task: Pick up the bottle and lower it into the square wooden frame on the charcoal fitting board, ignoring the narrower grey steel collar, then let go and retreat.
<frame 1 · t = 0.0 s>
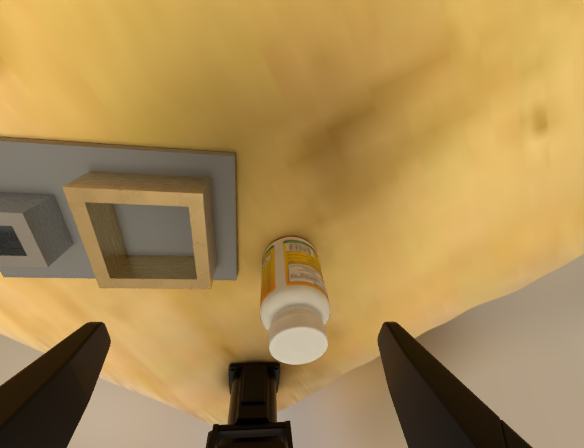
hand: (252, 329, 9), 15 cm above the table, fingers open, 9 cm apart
square wooden frame: (165, 218, 23), resting on fitting board
steel collar: (42, 213, 21), resting on fitting board
fitting board: (114, 216, 22), on the table
supplement bottle: (289, 256, 26), on the table
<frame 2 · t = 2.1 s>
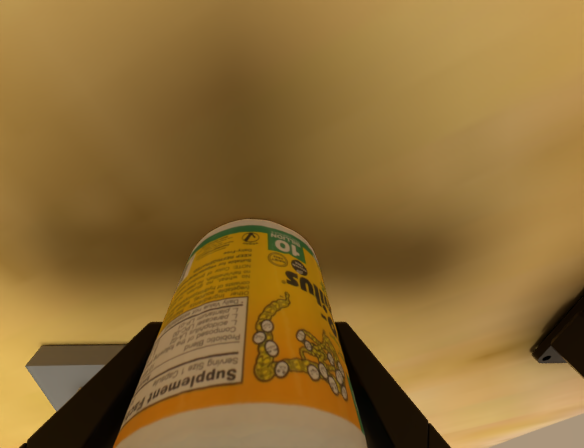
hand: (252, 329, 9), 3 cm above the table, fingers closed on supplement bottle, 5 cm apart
fitting board: (191, 436, 18), on the table
supplement bottle: (256, 266, 11), on the table, touching gripper
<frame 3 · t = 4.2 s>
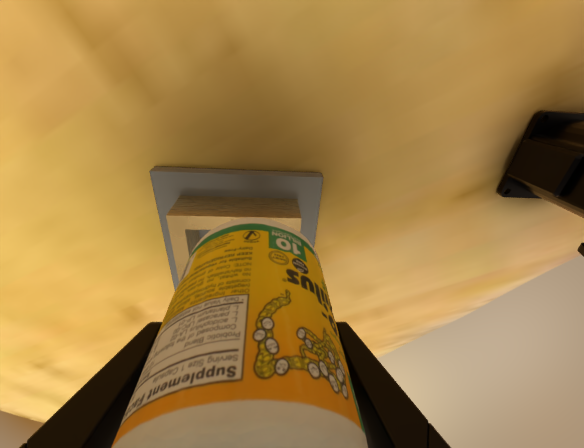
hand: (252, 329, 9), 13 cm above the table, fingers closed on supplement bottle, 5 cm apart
square wooden frame: (242, 238, 22), resting on fitting board
fitting board: (243, 274, 24), on the table
supplement bottle: (257, 265, 11), point 10 cm above the table, touching gripper
when the fingers open (5 cm above the table, at t = 6.4 s): supplement bottle stays where it is, resting on fitting board.
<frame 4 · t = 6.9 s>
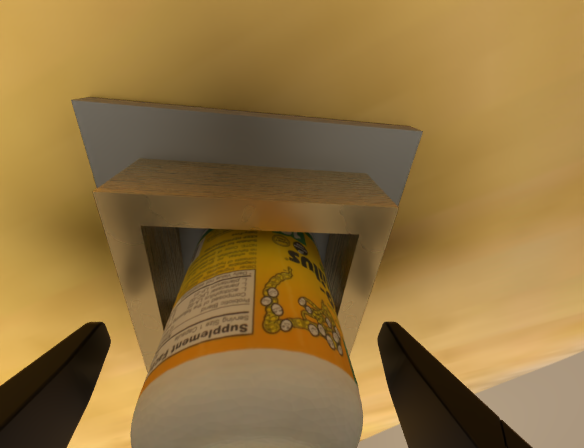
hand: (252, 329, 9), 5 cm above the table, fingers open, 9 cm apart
square wooden frame: (256, 243, 13), resting on fitting board
fitting board: (254, 301, 15), on the table
supplement bottle: (259, 252, 12), point 1 cm above the table, touching fitting board
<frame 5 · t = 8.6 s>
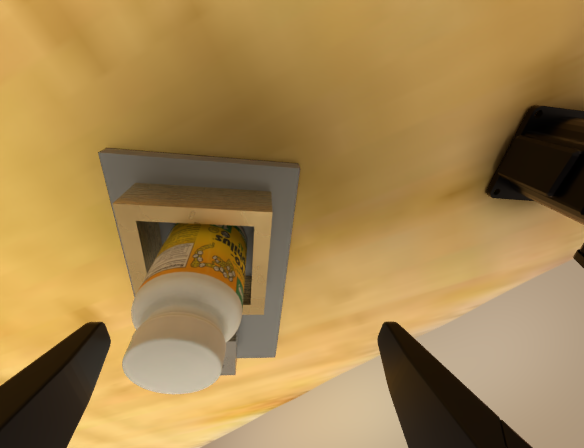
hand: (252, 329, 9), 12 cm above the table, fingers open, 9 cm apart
square wooden frame: (210, 234, 20), resting on fitting board
steel collar: (214, 319, 25), resting on fitting board
fitting board: (212, 274, 22), on the table
supplement bottle: (211, 239, 19), point 1 cm above the table, touching fitting board
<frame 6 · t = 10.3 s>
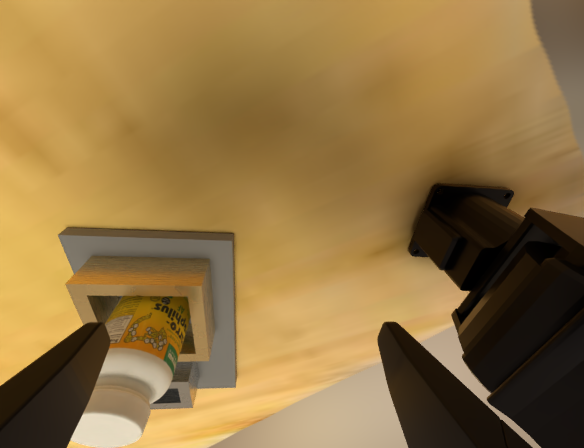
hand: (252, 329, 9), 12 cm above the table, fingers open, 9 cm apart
square wooden frame: (164, 289, 23), resting on fitting board
steel collar: (178, 355, 28), resting on fitting board
fitting board: (171, 320, 25), on the table
supplement bottle: (163, 295, 22), point 1 cm above the table, touching fitting board
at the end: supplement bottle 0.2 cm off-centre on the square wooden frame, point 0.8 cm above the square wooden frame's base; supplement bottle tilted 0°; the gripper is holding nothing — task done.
